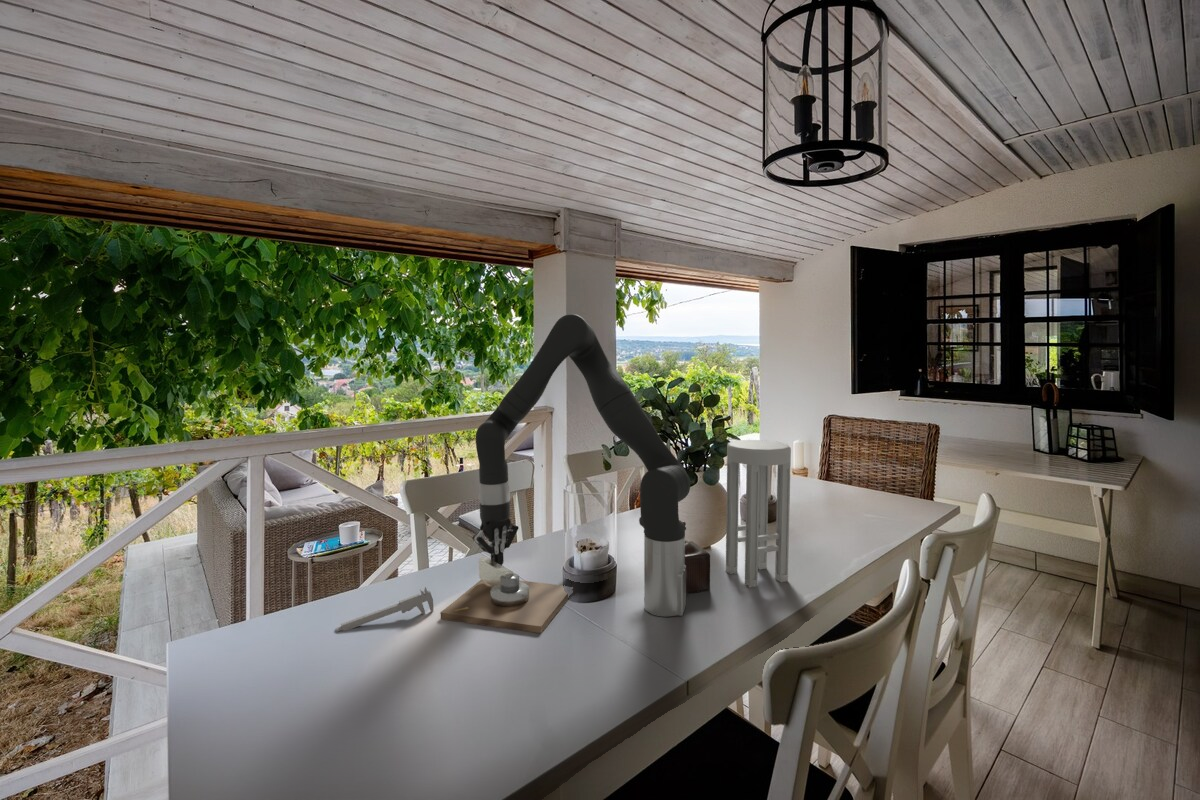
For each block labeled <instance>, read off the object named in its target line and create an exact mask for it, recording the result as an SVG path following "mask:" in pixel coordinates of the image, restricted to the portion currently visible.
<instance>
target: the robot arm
mask: <svg viewBox="0 0 1200 800" xmlns="http://www.w3.org/2000/svg"><path fill="white" fill-rule="evenodd" d="M599 341H600V340H599V339H598V337H597V334H596V333H595V331H594V329H593V327H592V326H591V325H590V324H589V322H587V321H586V320H585V319H584V317H582V316H580V315H578V314H574V313H569V314H564V315H563V316H561V317H560V318H559V319H557V321H556V322H555V323H554V325H553V326H552V328H551V330H550V331H549V333H548V335H547V337H546V338H545V340H544V342H543V343H542V345H541V347H540V348H539V350H538V351H537V353H536V355H535V356H534V358H533V359H532V361H531V362H530V363H529V365H528V367H527V368H526V370H524V372H523V373H522V375H521V376H520V377H519V379H518V380H517V381H516V382H515V384H514V385H513V386H512V387H511V388H510V389H509V391H508V392H507V393H506V395H504V397H503V398H502V399H501V401H500V403H499V405H498V407H497V408H495V410H494V411H493V412H492V413H491V414H490V415H489V417H487V419H486V420H484V422H482V423H481V424H480V425H479V426H478V428H477V429H476V431H475V447H476V453H477V454H476V455H477V459H478V463H479V467H478V472H479V487H478V498H479V499H478V500H479V503H478V504H479V518H480V521H481V524H480V527H479V532H478V533H477V534H475V535H473V536H472V540H473V541H474V542H475V543H476V544H477V546H478V547H479V548H480V549H481V550H482V551H483V552H485V553H488V554H489V555H490V559H491V560H493V561H495V562H497V563H498V564H500V565H502V566H503V564H504V552H505V550H506V549H508V548H510V546H511V544H512V542H513V541H514V538H515V536H516V534H517V532H518V531H519V529H520V528H519V526H518V525H515V524H513V523H512V520H511V518H510V517H511V492H510V491H511V490H510V485H509V467H508V462H507V460H506V452H505V451H506V449H505V445H506V444H505V443H506V440H507V439H508V438H509V436H510V435H511V434H512V433H513V431H514V430H515V428H516V427H517V426H518V425H519V423H520V422H521V421H522V420H523V419H524V418H526V416H527V415H528V414H529V413H530V411H531V410H533V408H534V407H535V405H536V404H537V403H538V402H539V401H540V399H541V397H542V396H543V394H544V392H545V390H546V388H547V386H548V385H549V382H550V380H551V378H552V376H553V375H554V373H555V372H556V371H557V369H558V368H559V366H560V365H561V364H562V363H563V361H565V359H567V358H568V357H569V358H570V359H571V360H572V362H573V363H574V365H575V366H576V367H577V369H578V370H579V372H580V373H581V375H582V376H583V377H584V380H585V382H586V383H587V387H588V389H589V393H590V395H591V398H592V401H593V403H594V405H595V407H596V409H597V411H598V414H600V416H601V418H602V420H603V421H604V423H605V425H606V426H607V427H608V429H609V430H610V431H611V432H612V433H613V434H614V436H616V437H617V438H618V439H619V440H620V441H621V442H623V444H625V445H626V446H627V447H629V448H630V449H631V451H633V452H634V453H635V454H636V456H638V458H639V459H640V460H641V461H642V463H643V465H644V467H645V468H646V472H645V473H644V475H643V476H642V478H641V481H640V487H639V505H640V506H639V509H640V517H641V521H642V525H643V527H644V528H643V527H642V528H643V534H644V535H643V537H644V538H643V539H644V541H643V543H644V555H643V556H644V558H643V559H644V562H643V564H644V565H643V566H644V567H643V568H644V570H643V571H644V573H643V575H644V576H643V579H644V580H643V581H644V583H643V584H644V587H643V589H644V590H643V591H644V593H643V594H644V597H643V603H644V604H643V607H644V610H645V611H646V612H647V613H649V614H651V615H653V616H658V617H675V616H684V615H683V614H684V611H685V609H686V605H687V594H686V565H685V540H686V530H685V527H686V525H684V523H683V522H682V520H680V517H679V503H680V502H681V501H682V500H684V499H686V498H687V496H688V495H689V493H690V490H691V480H690V477H689V475H688V473H687V471H686V469H685V468H684V466H683V465H682V464H681V462H680V461H679V460H678V459H677V457H676V456H675V455H674V454H673V453H672V451H671V450H670V449H669V447H668V446H667V445H666V444H665V442H664V441H663V440H662V438H661V437H660V435H659V433H658V431H657V430H656V428H655V426H654V425H653V423H652V421H651V419H650V418H649V417H648V416H647V414H646V413H645V411H644V409H643V407H642V406H641V403H640V401H638V399H637V397H636V396H635V394H634V393H633V391H632V390H631V388H630V386H628V384H627V383H626V381H625V379H624V378H623V377H622V376H621V375H620V374H619V372H618V371H617V369H615V368H614V366H613V365H612V363H611V362H610V361H609V359H608V357H607V355H606V353H605V352H604V349H603V347H602V346H601V343H600V342H599Z"/></svg>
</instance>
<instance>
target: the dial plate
mask: <svg viewBox="0 0 1200 800" xmlns="http://www.w3.org/2000/svg"><path fill="white" fill-rule="evenodd" d="M519 582H522V583H525V584H527V585H528V586H529V595H530V597H529V599H528V600H527V601H526V602H524V603H522V604H519V605H515V606H499V605H496V604H494V603H492V602H491V595H490V590H491V588H492V587H493V586H491V585H490V584H488V583H487V582H485V581H483V580H482V579H480V580H478V582H476V583H475V584H474V585H472V586H471V587H470V588H469V589H468V590H466V591H465V592H464V593H463V594H462V595H460V596H459V597H458V598H456V599H455V600H453V602H451V603H450V604H449V605H448V606H446V607H445V608H444V609H443V610H442V611H440V613H439V614H440V620H445V621H452V622H459V623H465V624H473V625H480V626H486V627H487V626H488V627H494V628H501V629H509V630H516V631H523V632H529V633H530V632H531V633H536V634H542V633H543V631H545V629H546V628H547V626H548V625H549V624H550V622H551V621H553V619H554V618H555V617H556V615H557V614H558V613H559V611H560V610H561V608H562V607H564V605H565V603H566V602H567V601H568V600H569V599H568V593H566V592H565V591H564V588H563V584H562V585H561V584H554V583H553V584H552V583H544V582H538V581H537V582H536V581H527V580H520V579H519Z"/></svg>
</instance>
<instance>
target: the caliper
mask: <svg viewBox="0 0 1200 800" xmlns="http://www.w3.org/2000/svg"><path fill="white" fill-rule="evenodd" d="M419 591H420V593H417V594H415V595H412V596H409V597H407V598H403V599H401V600H399V601H398V603H396V604H392V605H390V606H387V607H384V608H382V609H377V610H375V611H372V612H370V613H368V614H364V615H361V616H359V617H356V618H354V619H350V620H348V621H346V622H345V621H344V622H343V623H340V626H338V627H336V628H335V629H334V632H335V633H338V632H340V631H347V630H352V629H355V628H357V627H360V626H362V625H366V624H368V623H370V622H373V621H376V620H378V619H381V618H384V617H386V616H389V615H390V616H391V615H392V614H395V613H398V612H401V614H405V613H406V612H410V611H411V610H413V609H414V608H416V607H417V609H418V610H419V611H420V613H421V614H422V615H423V616H424V615H426V610H425V607H424V604H423V603H425V602H427V604H428V607H429V610H430V613H431V614H432V613H433V612H434V598H433V596H432V592H431V590H427V587H426V586H425V587H424V590H423V589H421V588H420V589H419Z"/></svg>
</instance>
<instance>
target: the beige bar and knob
mask: <svg viewBox="0 0 1200 800" xmlns="http://www.w3.org/2000/svg"><path fill="white" fill-rule="evenodd" d="M478 578H479V579H480V580H481V579H482V580H483V581H485V582H487V583H488V584H490V585H491V586H493V587H492V588H491V590H490V595H491V602H492V603H494V604H496V605H499V606H515V605H519V604H522V603H524V602H526V601H527V600H528V599H529V597H530V595H529V586H528V585H527V584H525V583H522V582H519V580H520V575H519V574H518V573H514V571H513V570H511V569H509V568H507V567H505V566H504V565H503V564H502V565H500V564H498V563H497V562H495V561H493V560H491V558H490V557H488V556H483V557H479V558H478Z"/></svg>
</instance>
